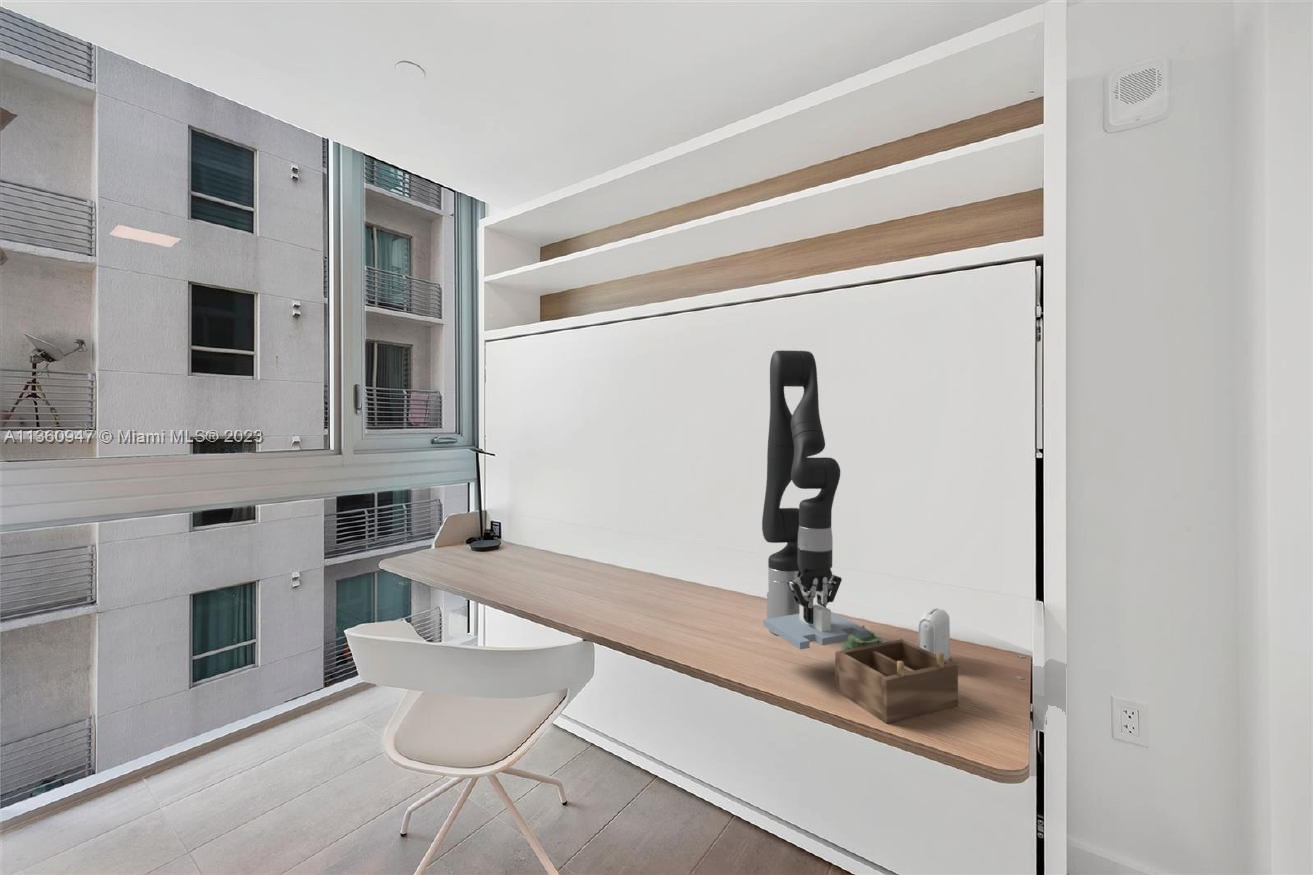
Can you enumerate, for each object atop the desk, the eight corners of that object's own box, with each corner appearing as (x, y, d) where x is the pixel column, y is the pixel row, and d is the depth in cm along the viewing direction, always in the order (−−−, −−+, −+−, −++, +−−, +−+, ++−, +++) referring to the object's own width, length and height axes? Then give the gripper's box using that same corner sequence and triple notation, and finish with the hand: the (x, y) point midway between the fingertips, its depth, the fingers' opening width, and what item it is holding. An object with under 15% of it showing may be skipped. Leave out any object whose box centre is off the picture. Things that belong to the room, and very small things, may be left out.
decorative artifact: (873, 645, 135) (835, 647, 134) (873, 618, 135) (835, 619, 134) (894, 662, 125) (852, 664, 124) (894, 632, 125) (852, 634, 124)
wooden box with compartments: (835, 690, 111) (835, 639, 111) (901, 675, 118) (901, 627, 118) (886, 723, 98) (886, 666, 98) (958, 705, 105) (957, 652, 104)
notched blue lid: (763, 625, 124) (763, 600, 124) (827, 615, 130) (827, 591, 130) (800, 649, 111) (800, 621, 111) (868, 636, 117) (868, 609, 117)
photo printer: (936, 673, 119) (936, 617, 119) (916, 667, 122) (915, 613, 122) (952, 659, 126) (952, 607, 126) (933, 654, 129) (932, 603, 129)
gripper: (829, 540, 126) (828, 612, 127) (779, 545, 121) (778, 620, 122) (851, 546, 119) (850, 623, 120) (799, 552, 114) (798, 632, 115)
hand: (814, 621), depth 121 cm, fingers closed on notched blue lid, 2 cm apart
